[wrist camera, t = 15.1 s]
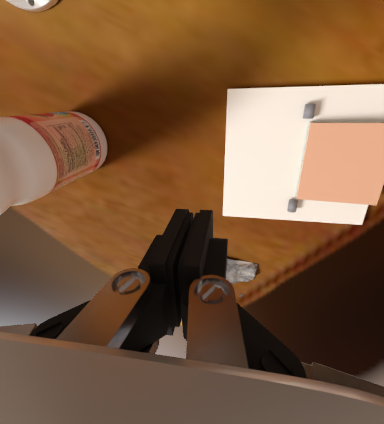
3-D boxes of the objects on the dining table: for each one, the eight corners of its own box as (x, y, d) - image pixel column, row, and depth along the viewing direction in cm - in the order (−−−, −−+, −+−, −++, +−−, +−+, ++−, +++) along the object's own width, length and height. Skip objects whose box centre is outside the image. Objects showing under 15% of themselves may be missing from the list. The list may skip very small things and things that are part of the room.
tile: (404, 123, 26) (399, 122, 27) (310, 123, 29) (309, 122, 30) (376, 205, 31) (372, 201, 32) (296, 199, 33) (295, 196, 34)
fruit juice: (92, 182, 41) (-137, 311, 16) (47, 143, 40) (-280, 222, 15) (120, 141, 37) (-131, 230, 12) (70, 96, 35) (-330, 96, 11)
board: (228, 89, 31) (226, 88, 29) (403, 83, 27) (416, 82, 25) (223, 212, 39) (222, 219, 37) (358, 221, 35) (366, 229, 33)
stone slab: (156, 285, 48) (157, 246, 43) (158, 279, 49) (159, 240, 44) (246, 304, 46) (259, 265, 41) (246, 296, 47) (258, 258, 42)
